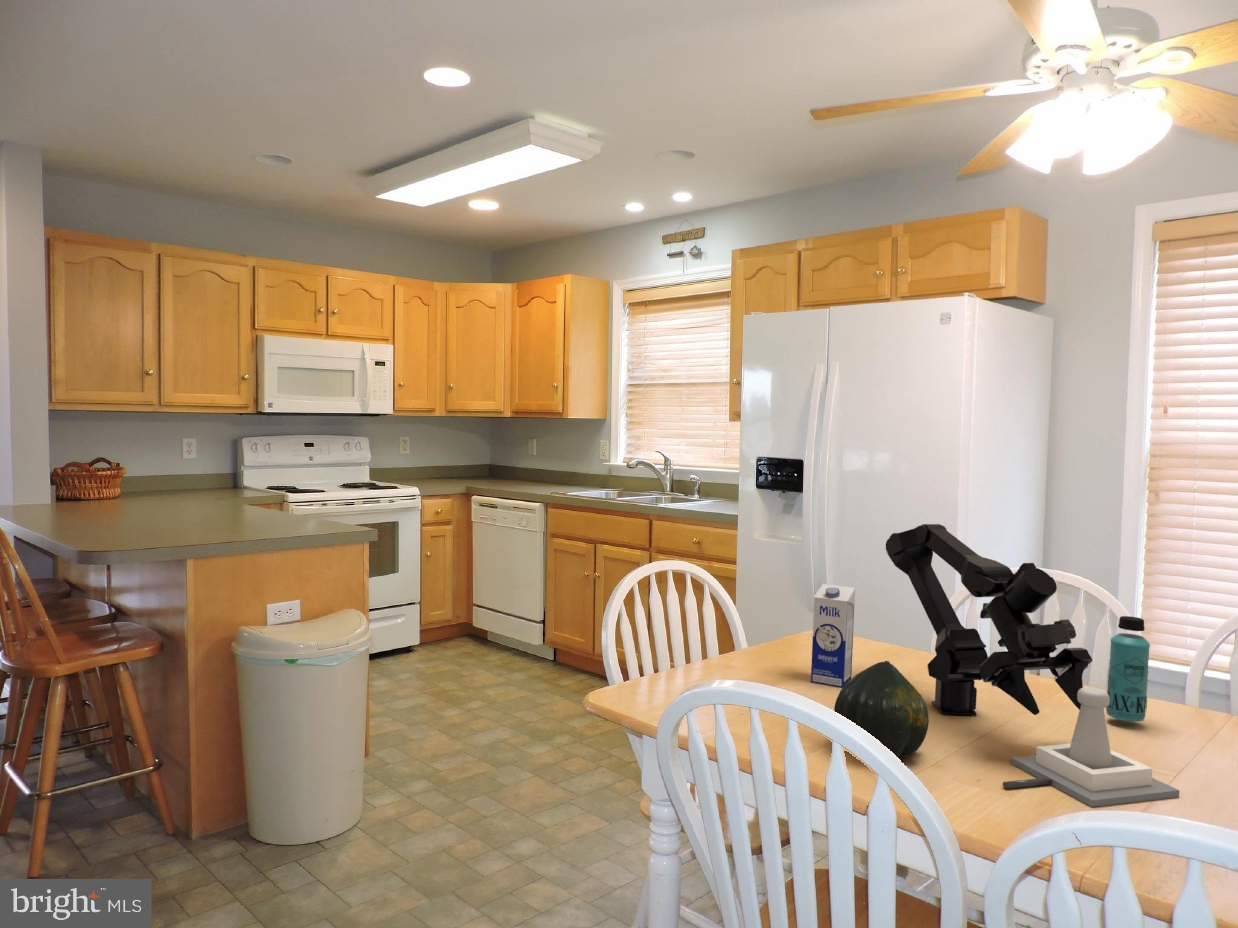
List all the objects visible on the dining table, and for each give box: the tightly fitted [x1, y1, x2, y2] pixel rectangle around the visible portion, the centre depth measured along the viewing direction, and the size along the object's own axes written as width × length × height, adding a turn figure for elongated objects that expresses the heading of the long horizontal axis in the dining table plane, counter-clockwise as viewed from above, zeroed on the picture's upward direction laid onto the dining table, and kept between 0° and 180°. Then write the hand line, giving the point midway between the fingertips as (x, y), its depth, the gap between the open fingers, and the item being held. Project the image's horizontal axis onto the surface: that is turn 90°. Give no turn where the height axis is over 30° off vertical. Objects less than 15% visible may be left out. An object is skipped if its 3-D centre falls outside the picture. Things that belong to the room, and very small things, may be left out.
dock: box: [1002, 743, 1180, 808], centre depth 129 cm, size 24×16×4 cm, turn 106°
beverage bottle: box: [1104, 615, 1151, 723], centre depth 156 cm, size 6×7×20 cm
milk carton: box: [810, 583, 856, 689], centre depth 178 cm, size 7×7×20 cm
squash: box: [833, 660, 930, 758], centre depth 140 cm, size 14×15×15 cm
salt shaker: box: [1069, 686, 1112, 770], centre depth 130 cm, size 6×6×13 cm
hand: (1060, 711), depth 136 cm, fingers open, 9 cm apart
